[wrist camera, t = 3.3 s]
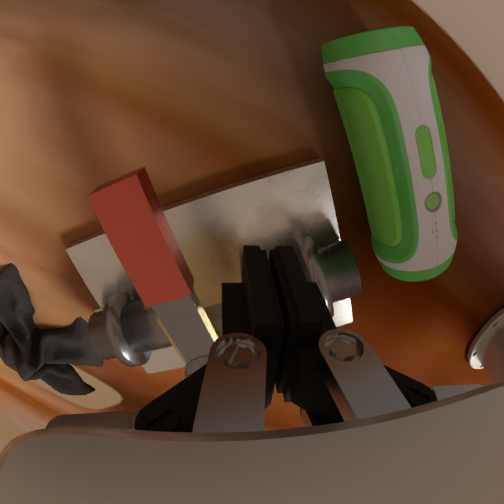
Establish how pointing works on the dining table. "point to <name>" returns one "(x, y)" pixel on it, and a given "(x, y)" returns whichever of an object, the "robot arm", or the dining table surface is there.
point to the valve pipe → (221, 258)
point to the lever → (154, 262)
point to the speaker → (396, 147)
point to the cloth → (41, 341)
